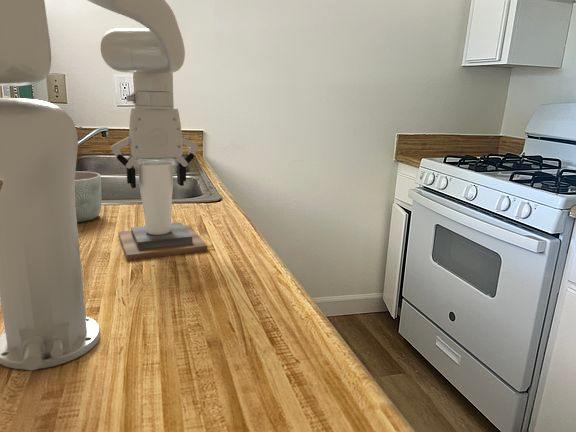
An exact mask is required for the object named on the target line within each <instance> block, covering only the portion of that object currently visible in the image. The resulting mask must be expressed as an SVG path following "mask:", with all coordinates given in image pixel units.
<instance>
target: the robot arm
mask: <svg viewBox="0 0 576 432" xmlns="http://www.w3.org/2000/svg"><path fill="white" fill-rule="evenodd" d="M87 1H88V2H90V3H92V4H94V5H96V6H98V7H101V8H103V9H105V10H107V11H110V12H113V13H116V14H118V15H122V16H124V17H127V18H129V19H131V20H133V21H136V22H137V23H139V24H141V25H142V26H144V27H145V28H144V27H143V28H142V27H140V28H139V27H137V28H136V27H135V28H130V27H129V28H128V27H127V28H120V27H119V28H113V29H110V30H109V31H106V33H105V34H104V35H103V37H102V38H101V42H100V52H101V53H100V54H101V57H102V59H103V61H104V63H105V64H106V65H107V66H108V67H109V68H111V69H112V70H114V71H116V72H120V73H132V79H133V92H132V93H130V94H126V102H130V103H132V104H133V105H134V107H131V108H130V116H129V129H128V130H129V132H128V133H129V134H128V136H127V137H125V138H123V139H121V140H120V141H117V142H116V143H115V142H114V143H113V144H112V145H111V146H110V150H111V151H112V153H113V154H114V156H115V158H116V159H117V160H118V162H120V163H121V164H122V165H124V167H126V183H127V184H130V187H131V188H132V189H135V188H137V183H136V181H137V180H136V179H137V178H136V169H135V167H134V165H135V164H136V163H137V162H138V160H166V159H169V160H172V159H175V160H176V161H177V163H178V164H177V166H176V174H177V175H176V177H177V178H176V181H177V184H178V185H179V186H181V187H183V186H184V185H185V182H186V181H187V167H188V165H189V164H190V162H192V161H193V159H194V158H195V155H196V153H197V151H198V149H199V145H198V144H197V143H195V142H192V141H191V140H190V139H187V138H185V137H184V136H183V134H182V133H183V132H182V124H181V118H180V112H179V109H178V108H175V107H174V78H173V77H174V75H173V74H174V73H176V72H178V71H179V70H180V69H181V68H182V67H183V65H184V62H185V57H186V49H185V44H184V39H183V36H182V33H181V30H180V27H179V24H178V21H177V18H176V16H175V13H174V10H173V9H172V8H171V7H170V5H169V3H168V2H167V1H166V0H87ZM45 3H46V2H45V0H0V87H23V86H31V85H36V84H39V83H40V82H41V81H44V80H45V79H46V77H48V75H49V73H50V71H51V66H52V48H51V39H50V33H49V25H48V18H47V10H46V4H45ZM128 145H129V146H128ZM127 146H128V148H129V153H130V155H129V156H128V158H126V157H125V156H124V155H123V154H122V152H121V149H123V148H125V147H127ZM183 146H187V147H188V148H189V149H188V152H187V153H186V154H185V155H184V156H183V154H184V147H183ZM78 149H79V139H78V129H77V126H76V124H75V122H74V120H73V118H72V117H71V116H70V115H69V113H68V112H66V111H65V109H63V108H61V107H60V106H58V105H56V104H53V103H51V102H48V101H44V100H41V99H40V100H39V99H33V98H22V97H21V98H18V97H17V98H16V97H14V98H13V97H0V181H2V186H1V189H0V304H1V311H2V313H1V314H2V318H3V325H4V332H3V333H2V334H1V335H0V365H2V366H4V367H7V368H11V369H14V370H25V371H26V370H27V371H36V370H39V369H45V368H46V369H47V368H51V367H55V366H60V365H62V364H66V363H68V362H71V361H73V360H76V359H78V358H80V357H81V356H83V355H85V354H86V353H89V351H90V350H92V349H93V348H94V347H95V346H96V345H97V343H98V342H99V341H100V337H101V331H100V330H101V329H100V325H99V323H98V322H97V321H96V320H94V318H91V317H88V316H87V311H86V302H85V292H84V281H83V280H84V279H83V272H82V262H81V252H80V241H79V232H78V222H77V220H76V208H75V172H76V170H77V169H76V168H77V167H76V166H77V158H78Z"/></svg>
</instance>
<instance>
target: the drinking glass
mask: <svg viewBox="0 0 576 432" xmlns="http://www.w3.org/2000/svg"><path fill="white" fill-rule="evenodd" d="M173 178H174V176H173V165H172V161H169V160H164V159H149V160H143V161H140V162H138V183H139V190H140V197H141V202H142V211H143V216H144V224H145V225H144V226H145V229H146V232H147V233H148V234H151V235H163V234H167V233H169V232H170V231H171V223H172V207H173V206H172V205H173V186H174V184H173V183H174V180H173Z"/></svg>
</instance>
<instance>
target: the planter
mask: <svg viewBox="0 0 576 432" xmlns="http://www.w3.org/2000/svg"><path fill="white" fill-rule="evenodd" d="M101 178H102V176H101V174H100V173H98V172H93V171H84V170H83V171H80V170H79V171H75V208H76V220H77V223H82V222H88V221H92V220H93V219H94V220H95V218H97V217H98V216H100V214H101V210H102V182H101V181H102V180H101Z"/></svg>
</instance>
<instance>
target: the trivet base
mask: <svg viewBox="0 0 576 432" xmlns="http://www.w3.org/2000/svg"><path fill="white" fill-rule="evenodd" d="M117 234H118V239H119V241H120V242H119V243H120V245H121V247H122V250H123V254H124V256H125V259H126V261H127V262H128V261H136V260H146V259H153V258H161V257H168V256H169V257H170V256H177V255H187V254H193V253H194V254H195V253H203V252H208V244H207V243H206V242H205V241H204V240H203V239H202V238H201V236H200V235H199V234H198V232H196V230H195V229H194V228H193V227H192V226H191V224H186V225H183V223H182V222H174V223H173V222H171V231H170V232H169V233H167V234H163V235H151V234H148V233H147V232H146V229H145V225H141V226H131V227H130V230H124V231H118V233H117Z"/></svg>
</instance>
